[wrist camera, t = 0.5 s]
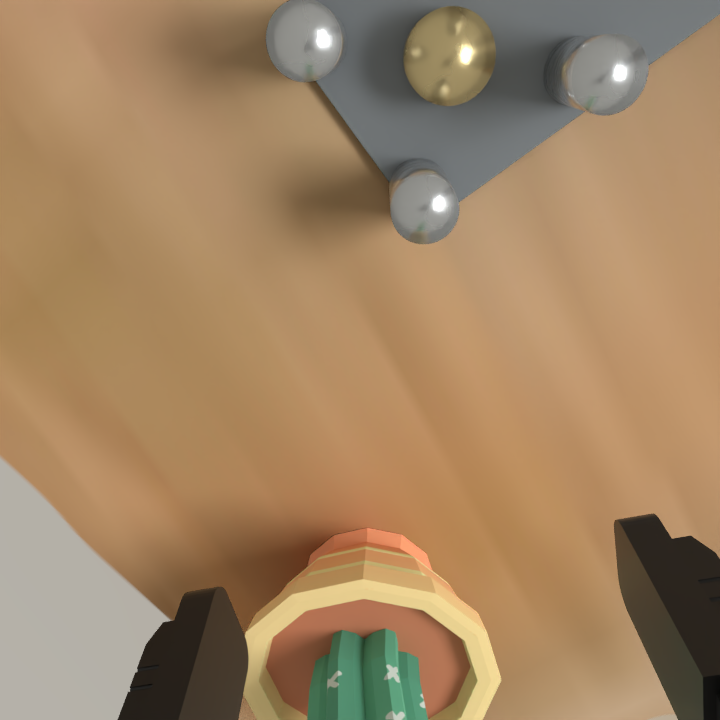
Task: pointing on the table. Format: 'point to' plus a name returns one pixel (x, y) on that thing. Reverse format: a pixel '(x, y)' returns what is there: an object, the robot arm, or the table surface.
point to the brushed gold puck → (449, 55)
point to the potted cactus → (369, 640)
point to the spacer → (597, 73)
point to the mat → (502, 92)
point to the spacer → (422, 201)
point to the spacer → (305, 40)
